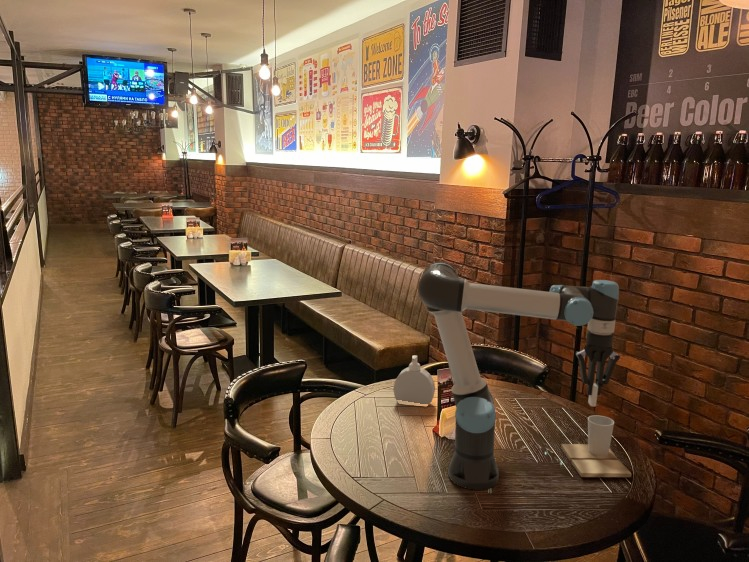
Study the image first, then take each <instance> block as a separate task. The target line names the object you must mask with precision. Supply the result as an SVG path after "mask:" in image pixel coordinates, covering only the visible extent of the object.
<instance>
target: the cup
mask: <svg viewBox="0 0 749 562" xmlns="http://www.w3.org/2000/svg"><path fill="white" fill-rule="evenodd" d="M614 425H615V421H614V419H612V418H610V417H608V416H604V415H596V414H595V415H594V414H593V415H589V416H588V417H587V444H588V451H589V452H590V453H591V454H593V455H595V456H601V457H603V456H607V455H608V454H609V448H610V449H611V442H612V436H613V432H614Z"/></svg>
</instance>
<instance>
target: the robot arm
mask: <svg viewBox="0 0 749 562" xmlns="http://www.w3.org/2000/svg"><path fill="white" fill-rule="evenodd" d="M420 276H421V277H420V279H419V281H418V283H417V293H418V297H419V298H420V300H421V302H422V303H423V304H424V305H425V306H426V309H427V312H428V313H430V314H431V315H433V316H434V320H435V323H436V326H437V330H438V333H439V336H440V340H441V343H442V347H443V350H444V354H445V356H446V360H447V363H448V367H449V370H450V373H451V378H452V380H453V381H452V382H453V386H452V387H451V394H452V397H453V400H454V404H455V412H454V417H455V431H454V436H455V437H454V452H453V455H452V457H451V460H450V463H449V465H448V469H447V470H448V471H447V473H448V474H449V476H448V478H449V477H450V478H451V479H452V481H453V482H455V483H456V484H458V485H460V486H462V487H461V488H463V487H466V488H469V489H468V490H471V489H473V491H474V490H475V491H480V490H481V491H482V490H488V489H491V488H493V487H494V486H496V485H498V483H499V476H500V472H499V468H498V465H497V461H496V457H495V454H494V453H495V451H494V449H495V435H496V433H495V432H496V431H495V430H496V421H497V413H496V408H495V406H494V404H495V403H494V397H493V395H492V393H491V391H490V389H489V385H488V382H487V380H486V379H485V378H483V377H481V375H480V371H479V368H478V365H477V361H476V358H475V355H474V354H475V353H474V351H473V347H472V344H471V341H470V336H469V333H468V329H467V325H466V322H465V318H464V316H463V312H464V311H465V310H471V311H472V310H473V311H480V312H490V313H497V314H505V315H514V316H522V317H523V316H524V317H532V318H539V319H547V320H556V321H563V322H565V321H566V322H568V323H569V324H571V325H573V326H576V327H582V326H584V325H587V331H586V338H585V339H586V340H585V346H583V349H582V350H580V351H575V356H576V357H577V360H578V365H579V372H580V379H581V381H582V383H584V384H586V394H587V395H588V401H587V403H588V405H589V406H590V407H597V400H598V396H601V392H602V391H601V390H602V388H603V387H604V385H608V384H609V382H610V379H611V377H612V375H613V372H614V369H615V366H616V364H617V363H618V362H619V360H620V359H621V356H620V355H619V354H618V353H617V352H615V351H614V349H613V344H614V337H615V336H614V332H615V327H616V318H617V317H616V316H617V310H618V302H619V299H620V297H619V294H620V287H619V284H618V283H617V282H615V281H613V280H612V281H611V280H606V279H596V280H595V279H594V280H593V281H592V285H591V286H578V285H577V286H575V285H566V284H565V285H564V284H553V285H551V286H550V288H549V291H543V290H536V289H526V288H525V289H524V288H519V287H518V288H517V287H509V286H500V285H489V284H483V283H482V284H481V283H474V282H473V283H472V282H469V281H468V280H467V279H466V278H461V277H459V274H458V273H457V271H456V270H455V268H454V267H453V266H451V265H450V264H447V263H445V262H437V263H436V262H435V263H433V264H430V265H429V266H428V267H426V268H425V269H424V270H423V272H422V273H421V275H420ZM586 357H587V358H588V367H586V360H585V358H586ZM608 358H609V359H608ZM607 359H608V362H607V363H606V361H607ZM605 365H606V366H605ZM587 368H588V370H587ZM450 478H449V479H450ZM452 481H451V482H452ZM453 482H452V483H453ZM455 483H454V484H455ZM456 484H455V485H456ZM458 485H457V486H458ZM460 486H459V487H460ZM466 488H465V489H466Z"/></svg>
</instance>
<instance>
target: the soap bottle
mask: <svg viewBox="0 0 749 562" xmlns="http://www.w3.org/2000/svg"><path fill="white" fill-rule="evenodd" d="M411 356H412V357H411V358H412V359H411V362H410V363H409V365H408V367H406V368H404V369H402V370H401V372H400V373H399V374H398V376H397V377H396V379H395V380H394V384H393V388H392V389H393V390H392V391H393V394H394V399H395V400H396V401H397V400H402V401H408V402H414V403H420V404H428V405H429V406H430V405H431V403H432V402H433V399H434V397H435V392H436V384H435V380H434V378H433V377H432V375H431V373H429V372H428V370H426V369H424V368H423V367H421V364H420V363H419V362H418V355H415V354H414V355H411Z"/></svg>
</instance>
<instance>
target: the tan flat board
mask: <svg viewBox="0 0 749 562" xmlns="http://www.w3.org/2000/svg"><path fill="white" fill-rule="evenodd" d="M561 449H562V451H563V453H564V454H565V456H566V457H567V459H568V460H569V462H570V463H571V460H619V459H618V457H617V456H616V455H615V453H614V452H613V451H612V449H611V447H610V448H609V454H608V455H607V456H603V457H601V456H595V455H593V454H591V453H590V452H589V451H588V443H586V444H583V443H570V444H569V443H561Z"/></svg>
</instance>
